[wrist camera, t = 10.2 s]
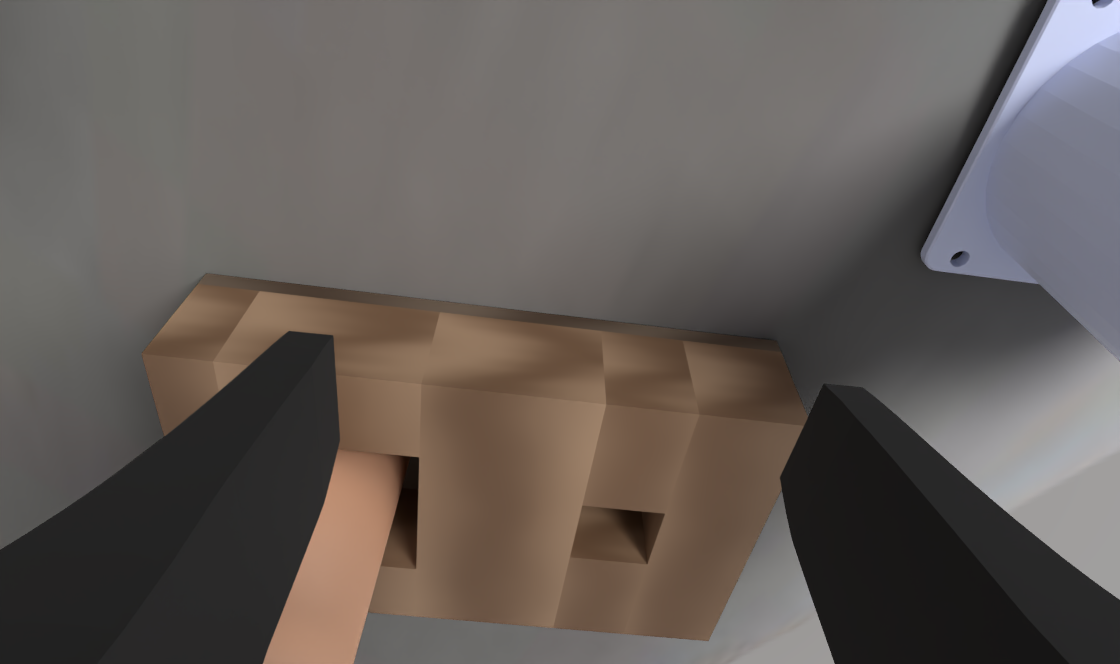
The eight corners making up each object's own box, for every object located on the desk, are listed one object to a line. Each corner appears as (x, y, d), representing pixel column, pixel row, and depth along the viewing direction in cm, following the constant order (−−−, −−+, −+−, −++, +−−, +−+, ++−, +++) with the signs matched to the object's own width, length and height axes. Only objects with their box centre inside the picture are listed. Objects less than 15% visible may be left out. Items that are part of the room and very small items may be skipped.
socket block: (776, 340, 23) (812, 426, 19) (692, 549, 29) (708, 641, 26) (206, 273, 21) (141, 353, 18) (250, 508, 28) (208, 598, 24)
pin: (413, 392, 23) (347, 609, 17) (416, 475, 25) (359, 694, 19) (291, 381, 23) (177, 596, 16) (306, 466, 25) (210, 685, 19)
